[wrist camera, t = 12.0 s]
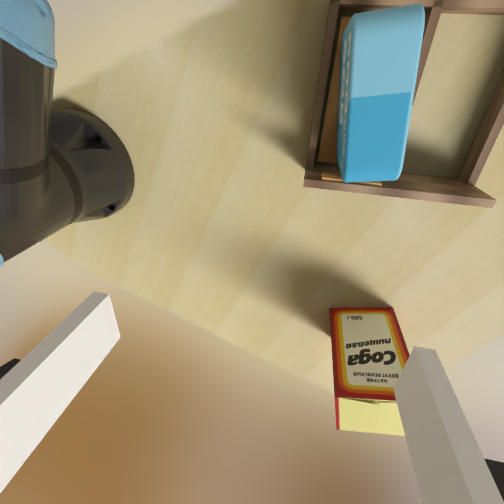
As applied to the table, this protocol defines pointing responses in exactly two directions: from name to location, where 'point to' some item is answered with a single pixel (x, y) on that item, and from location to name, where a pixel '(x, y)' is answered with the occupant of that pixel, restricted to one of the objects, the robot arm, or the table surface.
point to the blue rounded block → (377, 91)
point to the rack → (409, 185)
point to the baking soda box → (367, 369)
